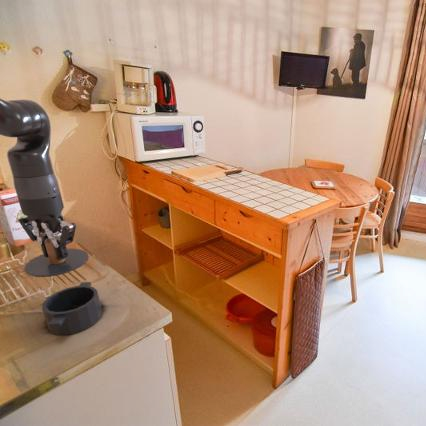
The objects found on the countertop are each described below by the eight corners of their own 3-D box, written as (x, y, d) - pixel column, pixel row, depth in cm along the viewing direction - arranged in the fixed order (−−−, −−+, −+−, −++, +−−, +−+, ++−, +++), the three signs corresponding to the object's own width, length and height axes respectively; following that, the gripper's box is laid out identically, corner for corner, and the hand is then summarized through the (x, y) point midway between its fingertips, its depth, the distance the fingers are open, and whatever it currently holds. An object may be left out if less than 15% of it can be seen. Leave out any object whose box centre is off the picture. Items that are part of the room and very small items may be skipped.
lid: (12, 280, 73) (3, 254, 70) (44, 252, 84) (37, 229, 82) (75, 278, 76) (68, 252, 73) (97, 251, 87) (92, 228, 84)
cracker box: (17, 250, 114) (-1, 195, 106) (8, 245, 117) (-11, 192, 109) (60, 235, 126) (47, 185, 118) (52, 231, 128) (38, 182, 120)
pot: (32, 346, 77) (24, 323, 74) (68, 301, 92) (62, 281, 90) (86, 341, 80) (80, 319, 77) (112, 298, 95) (108, 278, 92)
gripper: (-6, 193, 70) (17, 260, 77) (49, 202, 68) (67, 269, 75) (29, 183, 77) (46, 245, 83) (80, 191, 75) (94, 254, 82)
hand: (56, 256), depth 79 cm, fingers closed on lid, 3 cm apart
